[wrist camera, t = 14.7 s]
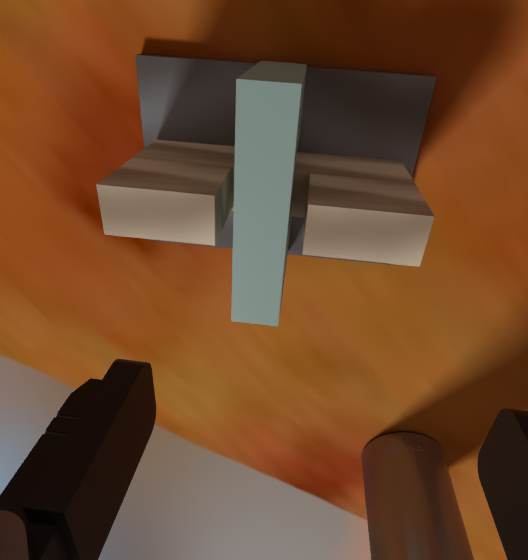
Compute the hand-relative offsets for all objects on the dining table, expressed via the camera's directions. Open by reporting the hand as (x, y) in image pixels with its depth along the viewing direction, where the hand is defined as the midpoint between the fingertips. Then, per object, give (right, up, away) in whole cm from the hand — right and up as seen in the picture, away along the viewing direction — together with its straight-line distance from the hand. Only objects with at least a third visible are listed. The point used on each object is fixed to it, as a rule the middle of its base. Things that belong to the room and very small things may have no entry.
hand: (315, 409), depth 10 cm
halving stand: (0, +12, +22) cm, 25 cm away
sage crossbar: (0, +11, +21) cm, 24 cm away
